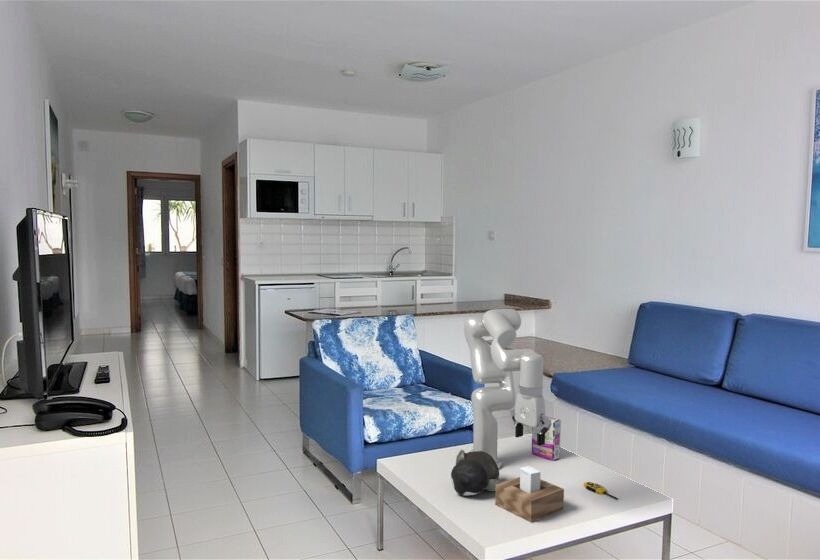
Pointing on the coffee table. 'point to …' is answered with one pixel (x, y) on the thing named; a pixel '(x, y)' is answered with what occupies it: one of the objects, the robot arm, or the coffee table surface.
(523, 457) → the coffee table surface
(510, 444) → the coffee table surface
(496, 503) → the socket block
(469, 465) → the dark grey rounded piece
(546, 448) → the candy bar box
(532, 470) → the skincare box
